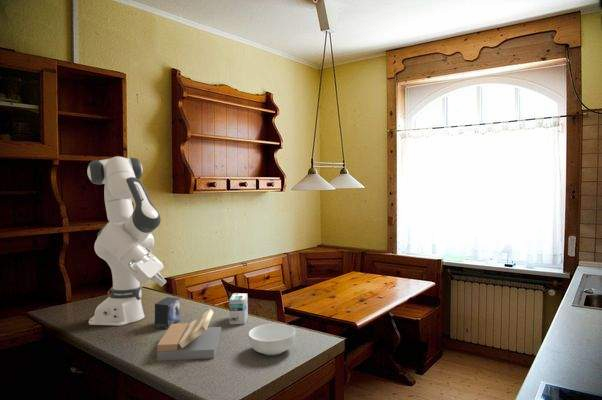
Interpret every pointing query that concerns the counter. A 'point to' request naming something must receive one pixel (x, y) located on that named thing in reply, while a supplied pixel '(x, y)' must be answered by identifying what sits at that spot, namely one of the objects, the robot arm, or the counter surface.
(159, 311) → the small box
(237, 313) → the light bulb box
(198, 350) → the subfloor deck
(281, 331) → the cereal bowl
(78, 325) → the counter surface
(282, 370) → the counter surface
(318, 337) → the counter surface
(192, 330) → the birch plank
